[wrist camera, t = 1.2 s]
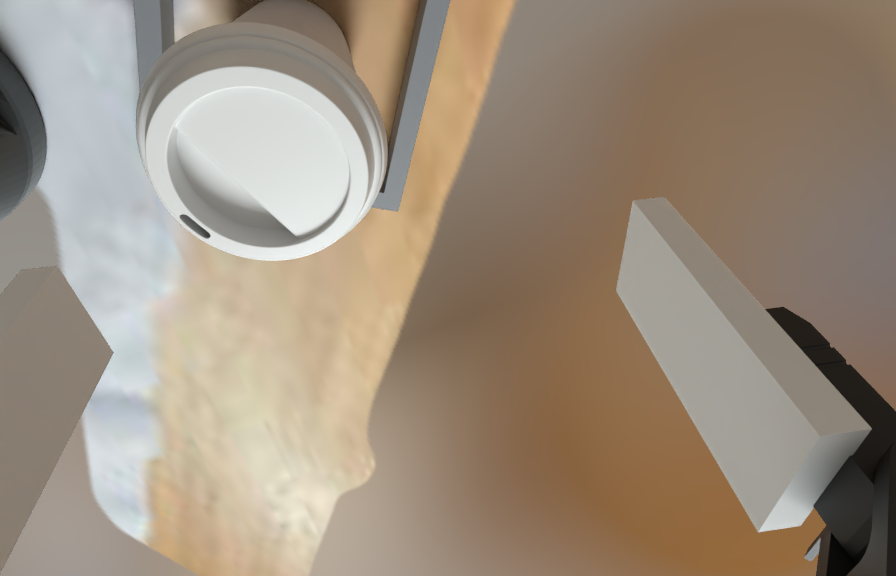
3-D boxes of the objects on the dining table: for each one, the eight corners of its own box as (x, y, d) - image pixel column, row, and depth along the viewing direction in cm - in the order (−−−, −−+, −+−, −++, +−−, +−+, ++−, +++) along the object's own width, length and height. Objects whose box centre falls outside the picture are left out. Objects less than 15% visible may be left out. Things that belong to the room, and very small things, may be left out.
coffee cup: (173, -12, 28) (52, 80, 17) (346, -57, 28) (344, 4, 17) (251, 150, 34) (202, 299, 23) (393, 114, 34) (416, 245, 23)
